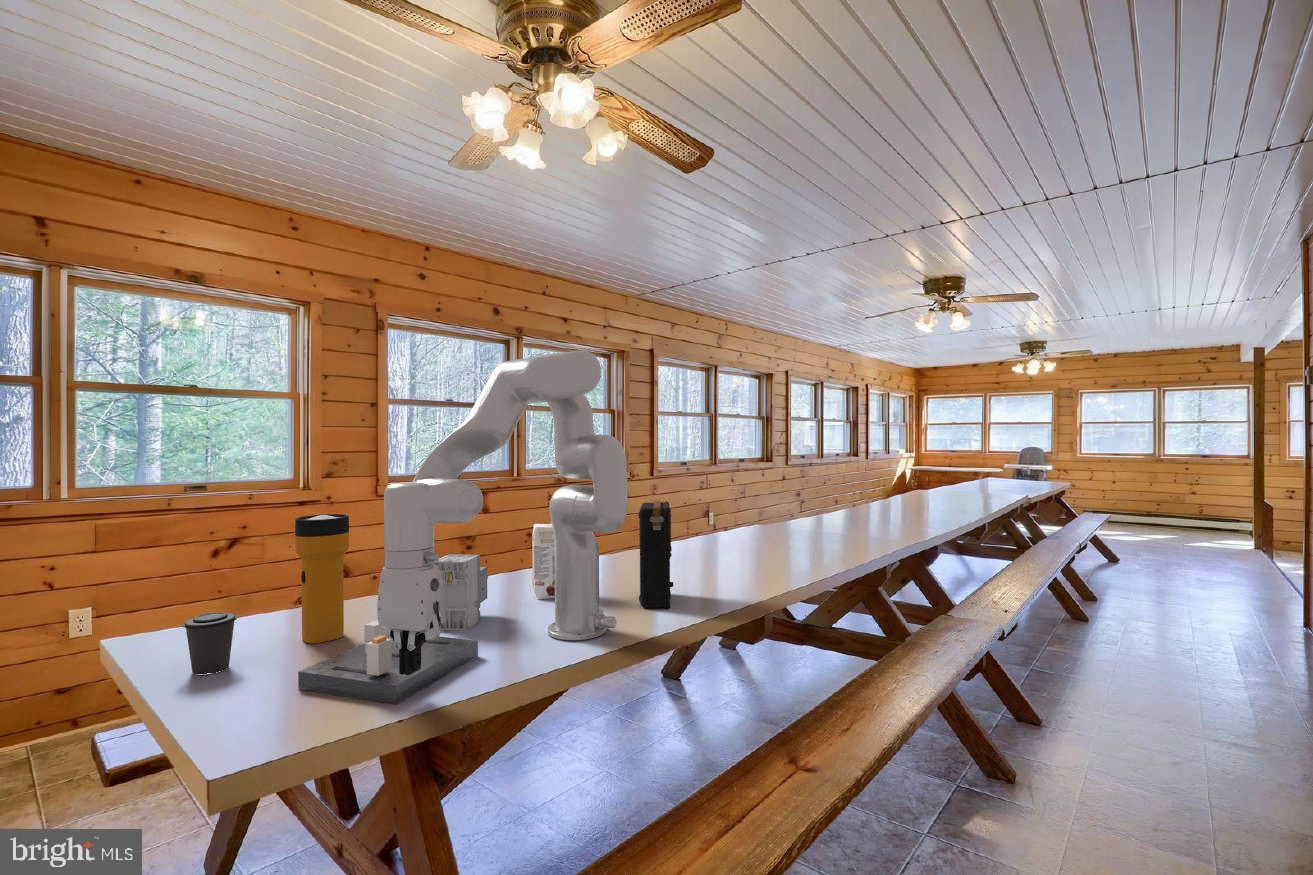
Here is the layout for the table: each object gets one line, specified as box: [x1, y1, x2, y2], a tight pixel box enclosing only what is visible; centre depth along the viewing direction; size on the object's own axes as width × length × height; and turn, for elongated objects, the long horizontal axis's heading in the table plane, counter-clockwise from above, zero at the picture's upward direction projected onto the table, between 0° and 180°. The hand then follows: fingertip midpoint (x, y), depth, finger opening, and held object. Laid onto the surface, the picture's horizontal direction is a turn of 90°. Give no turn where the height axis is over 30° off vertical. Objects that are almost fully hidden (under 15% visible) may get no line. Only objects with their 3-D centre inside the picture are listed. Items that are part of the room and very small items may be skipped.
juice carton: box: [531, 523, 555, 600], centre depth 161 cm, size 8×9×19 cm
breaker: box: [363, 619, 388, 653], centre depth 110 cm, size 2×3×5 cm
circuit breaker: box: [434, 553, 489, 631], centre depth 140 cm, size 8×14×15 cm, turn 174°
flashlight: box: [294, 513, 350, 644], centre depth 128 cm, size 10×26×10 cm
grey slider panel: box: [297, 634, 479, 705], centre depth 109 cm, size 20×22×3 cm
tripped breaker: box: [366, 635, 392, 676], centre depth 100 cm, size 2×3×6 cm
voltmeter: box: [637, 500, 674, 610], centre depth 155 cm, size 16×9×25 cm, turn 179°
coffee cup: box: [182, 611, 238, 674], centre depth 110 cm, size 8×8×10 cm
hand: (410, 671), depth 98 cm, fingers closed
